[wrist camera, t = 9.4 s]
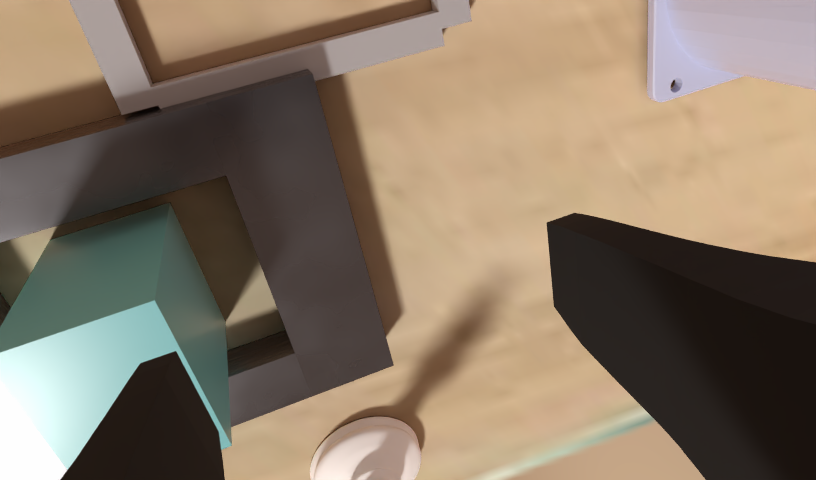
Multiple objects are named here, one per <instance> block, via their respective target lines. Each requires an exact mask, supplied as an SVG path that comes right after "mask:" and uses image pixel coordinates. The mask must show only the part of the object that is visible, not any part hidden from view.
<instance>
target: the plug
mask: <svg viewBox="0 0 816 480" xmlns="http://www.w3.org/2000/svg"><path fill="white" fill-rule="evenodd" d="M174 351H176V352H177V354H178V356H179V357H180V359H181V361H182V363H183V365H184V367H185V369H186V371H187V373H188V374H189V376H190V378H191V380H192V382H193V384H194V386H195V388H196V390H197V391H198V393H199V395H200V397H201V399H202V401H203V403H204V405H205V407H206V408H207V410H208V412H209V414H210V416H211V418H212V420H213V422H214V424H215V426H216V427H217V429H218V431H219V437H220V444H221V450H222V449H224V448H227V447H229V446H232V440H231V420H230V401H229V381H228V361H227V342H226V322H225V320H224V318H223V316H222V313H221V311H220V309H219V307H218V305H217V303H216V301H215V298H214V296H213V294H212V292H211V290H210V288H209V285H208V283H207V281H206V279H205V277H204V275H203V273H202V270H201V268H200V266H199V264H198V262H197V260H196V258H195V255H194V253H193V251H192V249H191V247H190V245H189V242H188V240H187V238H186V236H185V234H184V232H183V230H182V227H181V225H180V223H179V221H178V219H177V217H176V215H175V212H174V210H173V208H172V206H171V204H170V203H167V204H164V205H161V206H158V207H154V208H151V209H148V210H145V211H142V212H138V213H135V214H132V215H129V216H125V217H122V218H119V219H116V220H113V221H109V222H106V223H103V224H100V225H97V226H93V227H90V228H87V229H84V230H80V231H77V232H74V233H71V234H68V235H64V236H61V237H58V238H55V239H51V240H50V241H49V243H48V244H47V246H46V248H45V250H44V251H43V253H42V255H41V257H40V258H39V260H38V262H37V264H36V265H35V267H34V269H33V271H32V272H31V274H30V276H29V278H28V279H27V281H26V283H25V285H24V286H23V288H22V290H21V292H20V293H19V295H18V297H17V299H16V300H15V302H14V304H13V306H12V307H11V309H10V311H9V313H8V314H7V316H6V318H5V320H4V321H3V323H2V325H1V327H0V383H1V384H2V385H3V387H4V388H5V389H6V390H7V392H8V393H9V394H10V396H11V397H12V398H13V400H14V401H15V402H16V403H17V405H18V406H19V407H20V409H21V410H22V411H23V413H24V414H25V415H26V417H27V418H28V419H29V420H30V422H31V423H32V424H33V426H34V427H35V428H36V430H37V431H38V432H39V433H40V435H41V436H42V437H43V439H44V440H45V441H46V443H47V444H48V445H49V446H50V448H51V449H52V450H53V452H54V453H55V454H56V456H57V457H58V458H59V459H60V461H61V462H62V463H63V465H64V466H65V467H66V469H67V470H68V469H69V467H70V466H71V465H72V463H73V462H74V461H75V459H76V458H77V456H78V455H79V453H80V452H81V450H82V449H83V447H84V446H85V444H86V443H87V442H88V440H89V439H90V437H91V436H92V434H93V433H94V431H95V430H96V428H97V427H98V425H99V424H100V422H101V421H102V419H103V418H104V416H105V415H106V413H107V412H108V410H109V409H110V407H111V406H112V404H113V403H114V401H115V400H116V398H117V397H118V395H119V394H120V392H121V391H122V389H123V388H124V386H125V385H126V383H127V382H128V380H129V379H130V377H131V376H132V374H133V373H134V371H135V370H136V369H137V367H138V366H139V365H140V363H142V362H145V361H148V360H151V359H154V358H157V357H160V356H163V355H165V354H168V353H171V352H174Z"/></svg>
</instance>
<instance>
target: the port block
mask: <svg viewBox="0 0 816 480" xmlns="http://www.w3.org/2000/svg"><path fill="white" fill-rule="evenodd" d="M222 176H226V177H227V179H228V182H229V184H230V187H231V189H232V192H233V195H234V197H235V200H236V202H237V205H238V208H239V210H240V213H241V215H242V218H243V220H244V223H245V226H246V228H247V231H248V233H249V236H250V239H251V241H252V244H253V246H254V249H255V251H256V254H257V257H258V259H259V262H260V264H261V267H262V269H263V272H264V275H265V277H266V280H267V282H268V285H269V288H270V290H271V293H272V295H273V298H274V300H275V303H276V306H277V308H278V311H279V313H280V316H281V319H282V321H283V324H284V326H285V329H286V331H283V332H280V333H277V334H275V335H272V336H269V337H266V338H263V339H260V340H258V341H255V342H252V343H249V344H246V345H244V346H241V347H238V348H235V349H232V350H229V351H227V361H228V381H229V401H230V420H231V427H233V426H235V425H238V424H241V423H243V422H246V421H248V420H251V419H254V418H256V417H259V416H262V415H264V414H267V413H270V412H272V411H275V410H277V409H280V408H283V407H285V406H288V405H291V404H293V403H296V402H298V401H301V400H304V399H306V398H309V397H312V396H314V395H317V394H320V393H322V392H325V391H327V390H330V389H333V388H335V387H338V386H341V385H343V384H346V383H349V382H351V381H354V380H356V379H359V378H362V377H364V376H367V375H370V374H372V373H375V372H378V371H380V370H383V369H385V368H388V367H391V366H393V361H392V357H391V354H390V350H389V347H388V343H387V339H386V336H385V332H384V329H383V325H382V321H381V318H380V314H379V311H378V307H377V303H376V300H375V296H374V293H373V289H372V285H371V282H370V278H369V275H368V271H367V267H366V264H365V260H364V257H363V253H362V249H361V246H360V242H359V239H358V235H357V231H356V228H355V224H354V221H353V217H352V213H351V210H350V206H349V203H348V199H347V195H346V192H345V188H344V185H343V181H342V177H341V174H340V170H339V167H338V163H337V159H336V156H335V152H334V149H333V145H332V141H331V138H330V134H329V131H328V127H327V123H326V120H325V116H324V113H323V109H322V105H321V102H320V98H319V95H318V91H317V87H316V84H315V80H314V77H313V74H312V73H311V72H310V71H309V69H305V70H301V71H298V72H294V73H290V74H286V75H283V76H279V77H275V78H272V79H268V80H264V81H260V82H257V83H253V84H249V85H246V86H242V87H238V88H235V89H231V90H227V91H223V92H220V93H216V94H212V95H209V96H205V97H201V98H198V99H194V100H190V101H186V102H183V103H179V104H175V105H172V106H168V107H164V108H161V109H160V108H159V105H157V106H154V107H150V108H146V109H142V110H139V111H135V112H131V113H128V114H124V115H119V116H115V117H112V118H108V119H104V120H100V121H97V122H93V123H89V124H86V125H82V126H78V127H74V128H71V129H67V130H63V131H60V132H56V133H52V134H48V135H45V136H41V137H37V138H33V139H30V140H26V141H22V142H19V143H15V144H11V145H7V146H4V147H0V242H4V241H7V240H11V239H14V238H17V237H21V236H24V235H27V234H31V233H34V232H37V231H41V230H44V229H48V228H51V227H54V226H58V225H61V224H64V223H68V222H71V221H74V220H78V219H81V218H85V217H88V216H91V215H95V214H98V213H101V212H105V211H108V210H111V209H115V208H118V207H122V206H125V205H128V204H132V203H135V202H138V201H142V200H145V199H148V198H152V197H155V196H159V195H162V194H165V193H169V192H172V191H175V190H179V189H182V188H185V187H189V186H192V185H195V184H199V183H202V182H206V181H209V180H212V179H216V178H219V177H222ZM10 309H11V308H10V307H9V305H8V304H7V302H6V301H5V299H4V298H3V296H2V295H1V293H0V327H1V325H2V323H3V321H4V320H5V318H6V316H7V314H8V313H9V311H10ZM66 471H67V469H66V467H65V466H64V465H63V463H62V462H61V461H60V459H59V458H58V457H57V456H56V454H55V453H54V452H53V450H52V449H51V448H50V446H49V445H48V444H47V443H46V441H45V440H44V439H43V437H42V436H41V435H40V433H39V432H38V431H37V430H36V428H35V427H34V426H33V424H32V423H31V422H30V420H29V419H28V418H27V417H26V415H25V414H24V413H23V411H22V410H21V409H20V407H19V406H18V405H17V403H16V402H15V401H14V400H13V398H12V397H11V396H10V394H9V393H8V392H7V390H6V389H5V388H4V387H3V385H2V384H1V383H0V480H60V479H61V478H62V477H63V475H64V474H65V473H66Z"/></svg>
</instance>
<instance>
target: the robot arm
mask: <svg viewBox="0 0 816 480" xmlns="http://www.w3.org/2000/svg"><path fill="white" fill-rule="evenodd" d="M743 76H749V77H753V78H758V79H763V80H768V81H773V82H778V83H782V84H787V85H792V86H797V87H802V88H807V89H811V90H816V0H648V58H647V93H648V96H649V98H650V99H652V100H654V101H657V102H665V101H668V100H671V99H674V98H677V97H680V96H684V95H687V94H690V93H693V92H696V91H699V90H702V89H706V88H709V87H712V86H715V85H718V84H721V83H724V82H728V81H731V80H734V79H737V78H740V77H743ZM673 80H675V83H674V86H673V87H672V89H671V88H670V87H671V83H672V82H673ZM547 232H548V243H549V254H550V266H551V277H552V288H553V300H554V307H555V308H556V310H557V311H558V313H559V314H560V315H561V317H562V318H563V320H564V321H565V322H566V324H567V325H568V327H569V328H570V329H571V331H572V332H573V333H574V335H575V336H576V337H577V339H578V340H579V341H580V343H581V344H582V345H583V346H584V347H585V348H586V349H587V350H588V351H589V353H590V354H591V355H592V356H593V357H594V358H595V359H596V360H597V361H598V362H599V363H600V364H601V365H602V366H603V367H604V368H605V369H606V370H607V371H608V372H609V373H610V374H611V375H612V376H613V377H614V378H615V379H616V380H617V382H618V383H619V384H620V385H621V386H622V387H623V388H624V389H625V390H626V391H627V392H628V393H629V394H630V395H631V396H632V397H633V398H634V399H635V400H636V401H637V402H638V403H639V404H640V405H641V406H642V407H643V408H644V409H645V410H646V411H647V412H648V413H649V414H650V415H651V416H652V417H653V418H654V419H655V420H656V421H657V422H658V423H659V424H660V425H661V426H662V428H663V429H664V430H665V431H666V432H667V433H668V434H669V435H670V436H671V438H672V439H673V440H674V441H675V442H676V443H677V444H678V445H679V446H680V448H681V449H682V450H683V452H684V453H685V454H686V455H687V457H688V458H689V459H690V460H691V461H692V463H693V464H694V465H695V467H696V468H697V469H698V470H699V472H700V473H701V474H702V475H703V477H704V478H705V479H706V480H816V262H808V261H801V260H794V259H787V258H779V257H772V256H766V255H760V254H754V253H748V252H743V251H738V250H733V249H728V248H723V247H718V246H713V245H708V244H704V243H699V242H695V241H691V240H686V239H682V238H678V237H674V236H670V235H666V234H662V233H658V232H654V231H650V230H646V229H642V228H638V227H634V226H630V225H626V224H623V223H619V222H615V221H611V220H606V219H602V218H598V217H594V216H589V215H584V214H578V213H573V214H570V215H567V216H564V217H562V218H559V219H556V220H553V221H550V222H547ZM60 480H225V478H224V469H223V460H222V452H221V444H220V437H219V431H218V429H217V427H216V426H215V424H214V422H213V420H212V418H211V416H210V414H209V412H208V410H207V408H206V407H205V405H204V403H203V401H202V399H201V397H200V395H199V393H198V391H197V390H196V388H195V386H194V384H193V382H192V380H191V378H190V376H189V374H188V373H187V371H186V369H185V367H184V365H183V363H182V361H181V359H180V357H179V356H178V354H177V352H176V351H174V352H171V353H168V354H165V355H163V356H160V357H157V358H154V359H151V360H148V361H145V362H142V363H140V365H139V366H138V367H137V369H136V370H135V371H134V373H133V374H132V376H131V377H130V379H129V380H128V382H127V383H126V385H125V386H124V388H123V389H122V391H121V392H120V394H119V395H118V397H117V398H116V400H115V401H114V403H113V404H112V406H111V407H110V409H109V410H108V412H107V413H106V415H105V416H104V418H103V419H102V421H101V422H100V424H99V425H98V427H97V428H96V430H95V431H94V433H93V434H92V436H91V437H90V439H89V440H88V442H87V443H86V444H85V446H84V447H83V449H82V450H81V452H80V453H79V455H78V456H77V458H76V459H75V461H74V462H73V463H72V465H71V466H70V467H69V469H68V470H67V471H66V473H65V474H64V475H63V477H62V478H61V479H60Z"/></svg>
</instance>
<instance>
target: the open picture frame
mask: <svg viewBox="0 0 816 480" xmlns="http://www.w3.org/2000/svg"><path fill="white" fill-rule="evenodd" d="M69 1H70V4H71V6H72V8H73V10H74V12H75V14H76V17H77V19H78V21H79V23H80V25H81V27H82V30H83V32H84V34H85V36H86V38H87V41H88V43H89V45H90V47H91V49H92V51H93V54H94V56H95V58H96V60H97V62H98V64H99V67H100V69H101V71H102V73H103V75H104V77H105V80H106V82H107V84H108V86H109V88H110V90H111V93H112V95H113V97H114V99H115V101H116V104H117V106H118V108H119V110H120V112H121V114H122V115H124V114H128V113H131V112H135V111H139V110H142V109H146V108H150V107H154V106H157V105H159V108H160V109H161V108H164V107H168V106H172V105H175V104H179V103H183V102H186V101H190V100H194V99H198V98H201V97H205V96H209V95H212V94H216V93H220V92H223V91H227V90H231V89H235V88H238V87H242V86H246V85H249V84H253V83H257V82H260V81H264V80H268V79H272V78H275V77H279V76H283V75H286V74H290V73H294V72H298V71H301V70H305V69H309V71H310V72H311V73H312V74H313V77H314V80H315V81H318V80H321V79H325V78H329V77H332V76H336V75H339V74H343V73H347V72H350V71H354V70H358V69H361V68H365V67H369V66H372V65H376V64H379V63H383V62H387V61H390V60H394V59H398V58H401V57H405V56H409V55H412V54H416V53H419V52H423V51H427V50H430V49H434V48H438V47H441V46H445V45H444V39H443V33H442V29H444V28H447V27H451V26H455V25H459V24H462V23H466V22H470V21H472V20H471V13H470V5H469V0H431V5H432V11H429V12H425V13H421V14H417V15H413V16H410V17H406V18H402V19H398V20H394V21H390V22H387V23H383V24H379V25H375V26H371V27H367V28H364V29H360V30H356V31H352V32H348V33H345V34H341V35H337V36H333V37H329V38H325V39H322V40H318V41H314V42H310V43H306V44H302V45H299V46H295V47H291V48H287V49H283V50H280V51H276V52H272V53H268V54H264V55H260V56H257V57H253V58H249V59H245V60H241V61H237V62H234V63H230V64H226V65H222V66H218V67H215V68H211V69H207V70H203V71H199V72H195V73H192V74H188V75H184V76H180V77H176V78H172V79H169V80H165V81H161V82H157V83H152V81H151V78H150V76H149V74H148V71H147V69H146V66H145V64H144V62H143V59H142V57H141V55H140V52H139V50H138V47H137V45H136V43H135V40H134V38H133V35H132V33H131V31H130V28H129V26H128V24H127V21H126V19H125V16H124V14H123V12H122V9H121V7H120V5H119V2H118V0H69Z"/></svg>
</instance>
